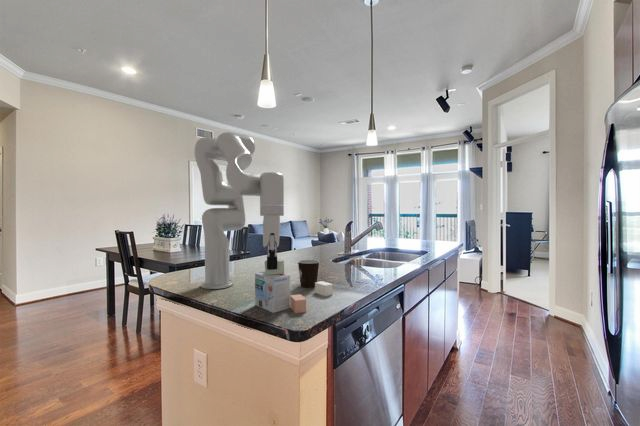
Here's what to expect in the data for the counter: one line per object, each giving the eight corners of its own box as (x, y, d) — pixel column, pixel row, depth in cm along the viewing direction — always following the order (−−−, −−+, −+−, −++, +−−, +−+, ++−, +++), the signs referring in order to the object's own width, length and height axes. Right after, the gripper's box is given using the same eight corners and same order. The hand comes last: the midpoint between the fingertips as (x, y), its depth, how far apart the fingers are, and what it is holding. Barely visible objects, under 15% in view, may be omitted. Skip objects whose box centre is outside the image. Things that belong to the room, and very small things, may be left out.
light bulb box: (254, 305, 101) (254, 272, 101) (271, 300, 106) (271, 269, 106) (273, 313, 94) (273, 278, 93) (290, 308, 98) (290, 274, 98)
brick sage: (265, 275, 97) (264, 262, 97) (265, 272, 101) (264, 260, 101) (284, 273, 98) (283, 260, 98) (284, 271, 102) (283, 259, 102)
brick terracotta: (290, 307, 99) (290, 295, 99) (300, 306, 100) (300, 294, 100) (295, 313, 94) (295, 300, 94) (306, 312, 95) (306, 299, 95)
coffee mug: (318, 288, 121) (318, 263, 121) (297, 288, 121) (297, 263, 121) (319, 281, 132) (319, 258, 132) (299, 281, 133) (299, 258, 132)
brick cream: (315, 293, 116) (315, 282, 116) (322, 291, 118) (322, 281, 118) (325, 296, 111) (325, 285, 111) (332, 294, 113) (332, 284, 113)
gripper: (260, 210, 107) (261, 263, 107) (259, 211, 90) (259, 274, 91) (282, 210, 108) (282, 262, 108) (284, 211, 91) (285, 273, 92)
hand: (272, 267), depth 99 cm, fingers open, 4 cm apart
